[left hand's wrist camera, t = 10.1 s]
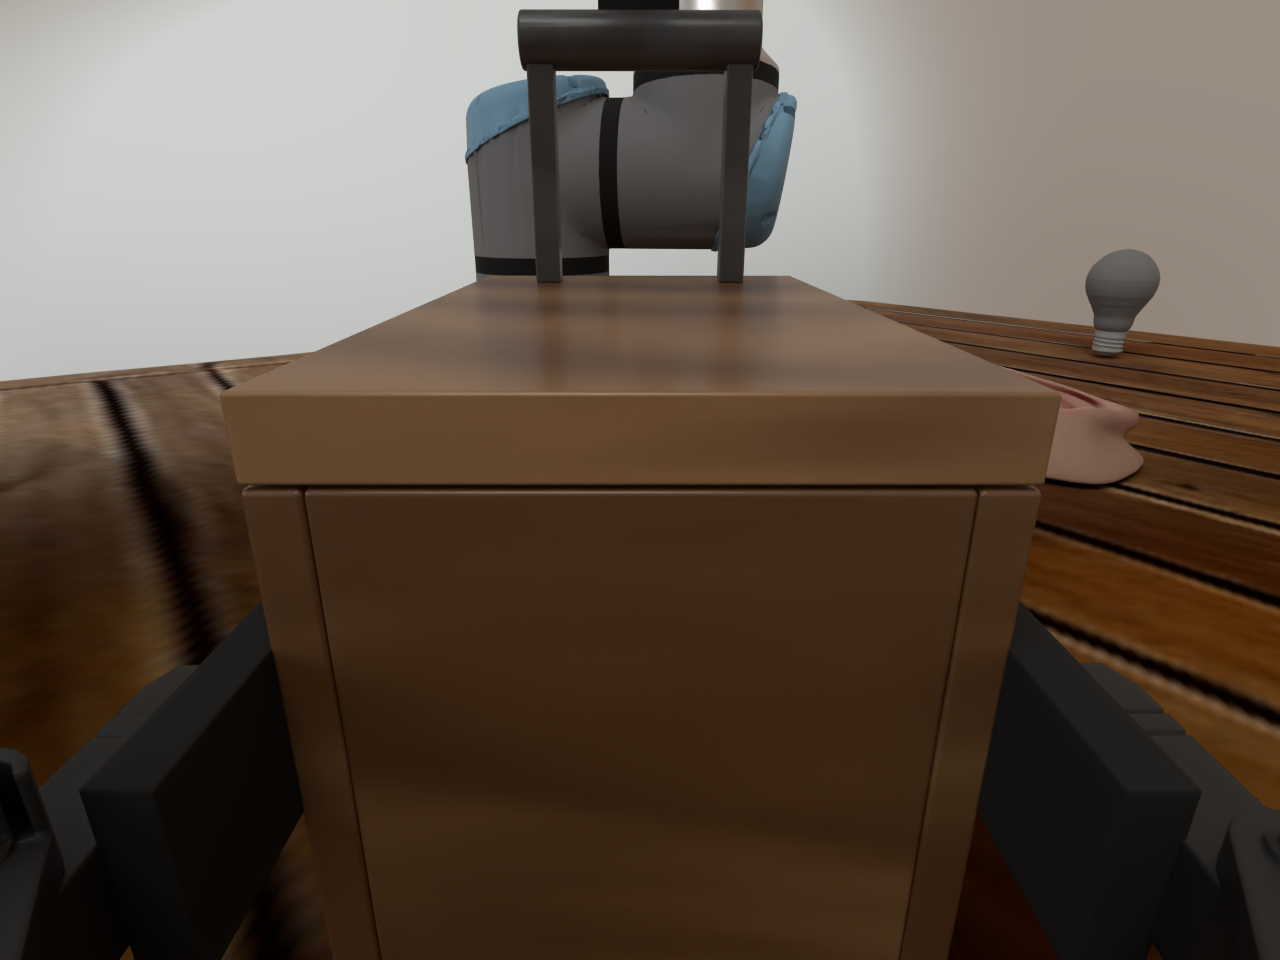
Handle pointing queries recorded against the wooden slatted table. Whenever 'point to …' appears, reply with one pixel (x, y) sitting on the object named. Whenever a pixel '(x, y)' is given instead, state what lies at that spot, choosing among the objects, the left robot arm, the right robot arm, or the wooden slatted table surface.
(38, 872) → the left robot arm
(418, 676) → the chest
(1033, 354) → the wooden slatted table surface
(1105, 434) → the anatomical model
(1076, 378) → the wooden slatted table surface
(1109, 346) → the light bulb
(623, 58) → the lid
